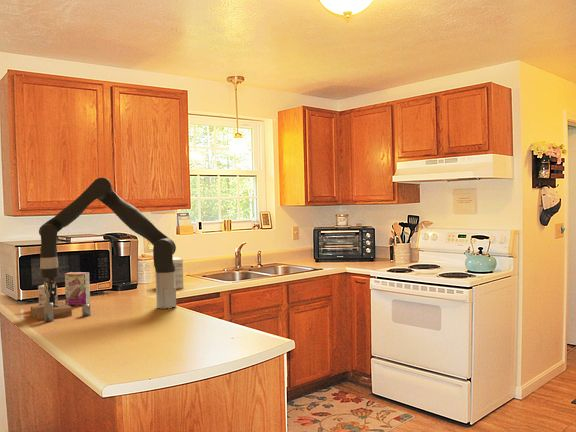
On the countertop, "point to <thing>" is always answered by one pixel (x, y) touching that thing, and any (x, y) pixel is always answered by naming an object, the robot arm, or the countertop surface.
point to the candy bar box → (77, 288)
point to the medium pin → (48, 312)
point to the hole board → (58, 311)
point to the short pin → (86, 310)
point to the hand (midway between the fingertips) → (50, 303)
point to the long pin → (48, 297)
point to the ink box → (44, 295)
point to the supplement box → (178, 272)
